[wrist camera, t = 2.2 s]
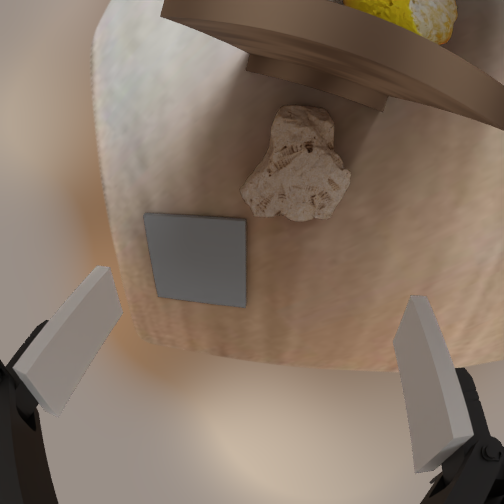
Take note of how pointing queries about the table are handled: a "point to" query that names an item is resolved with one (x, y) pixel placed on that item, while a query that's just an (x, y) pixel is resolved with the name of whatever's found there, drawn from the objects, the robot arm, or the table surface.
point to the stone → (298, 168)
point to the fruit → (414, 15)
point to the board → (345, 53)
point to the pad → (198, 257)
